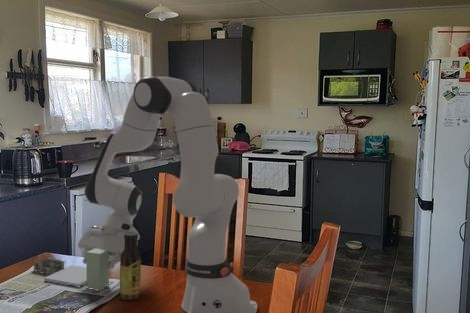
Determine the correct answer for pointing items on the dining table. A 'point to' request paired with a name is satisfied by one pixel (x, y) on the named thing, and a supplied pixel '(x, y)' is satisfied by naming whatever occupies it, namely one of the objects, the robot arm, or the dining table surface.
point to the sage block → (97, 268)
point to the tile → (69, 276)
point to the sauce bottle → (130, 268)
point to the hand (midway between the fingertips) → (97, 265)
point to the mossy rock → (51, 262)
